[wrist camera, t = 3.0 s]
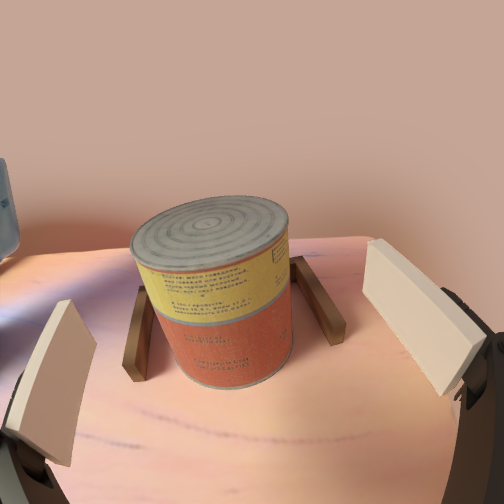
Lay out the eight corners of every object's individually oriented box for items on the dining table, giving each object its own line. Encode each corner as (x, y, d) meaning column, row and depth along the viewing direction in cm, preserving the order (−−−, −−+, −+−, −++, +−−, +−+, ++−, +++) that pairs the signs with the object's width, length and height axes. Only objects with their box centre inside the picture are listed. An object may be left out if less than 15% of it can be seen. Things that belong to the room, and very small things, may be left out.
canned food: (305, 311, 27) (304, 197, 21) (268, 405, 18) (251, 280, 13) (209, 294, 32) (186, 195, 26) (153, 366, 23) (99, 255, 17)
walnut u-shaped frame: (342, 342, 23) (346, 323, 22) (133, 381, 21) (122, 365, 20) (302, 273, 33) (302, 255, 32) (146, 302, 31) (139, 286, 30)
